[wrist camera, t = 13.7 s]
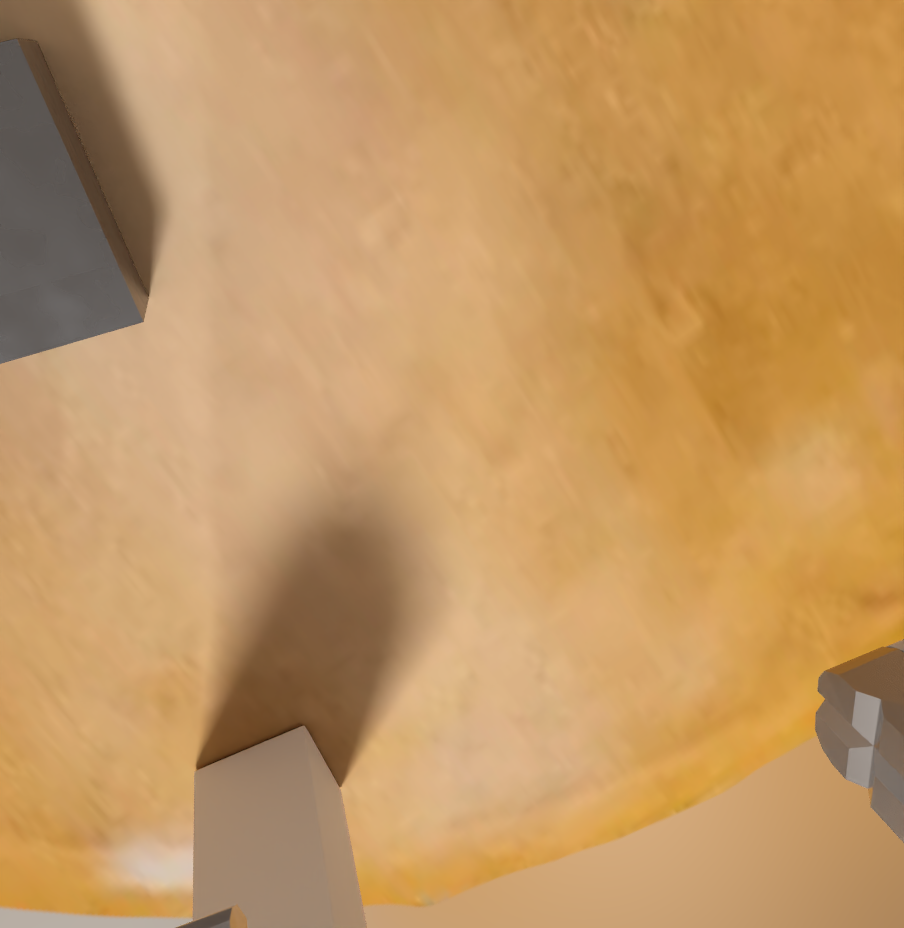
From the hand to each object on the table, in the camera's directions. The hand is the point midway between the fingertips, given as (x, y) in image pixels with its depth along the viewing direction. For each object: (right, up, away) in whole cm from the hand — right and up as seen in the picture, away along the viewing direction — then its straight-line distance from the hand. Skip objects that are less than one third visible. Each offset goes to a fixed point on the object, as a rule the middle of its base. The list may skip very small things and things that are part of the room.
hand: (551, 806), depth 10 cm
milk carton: (-13, -16, +38) cm, 43 cm away
